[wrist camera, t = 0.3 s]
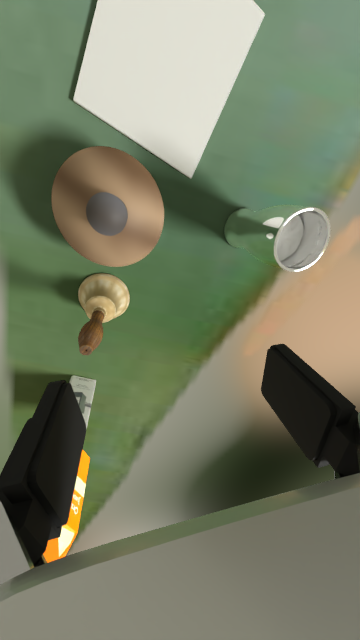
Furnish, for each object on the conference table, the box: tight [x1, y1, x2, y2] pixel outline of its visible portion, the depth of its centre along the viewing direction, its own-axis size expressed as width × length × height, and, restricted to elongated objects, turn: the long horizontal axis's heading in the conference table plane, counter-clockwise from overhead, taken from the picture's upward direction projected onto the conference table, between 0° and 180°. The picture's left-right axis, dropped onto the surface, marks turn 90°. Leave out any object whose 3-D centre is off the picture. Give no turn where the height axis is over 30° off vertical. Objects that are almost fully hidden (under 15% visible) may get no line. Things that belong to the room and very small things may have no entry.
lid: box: [51, 146, 164, 267], centre depth 25 cm, size 13×13×6 cm
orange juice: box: [43, 449, 90, 563], centre depth 45 cm, size 8×9×20 cm
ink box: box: [69, 375, 96, 428], centre depth 40 cm, size 9×5×12 cm, turn 153°
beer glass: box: [224, 205, 331, 272], centre depth 30 cm, size 7×7×15 cm
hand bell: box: [78, 273, 130, 355], centre depth 30 cm, size 8×8×16 cm
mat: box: [73, 0, 265, 179], centre depth 25 cm, size 18×16×1 cm
